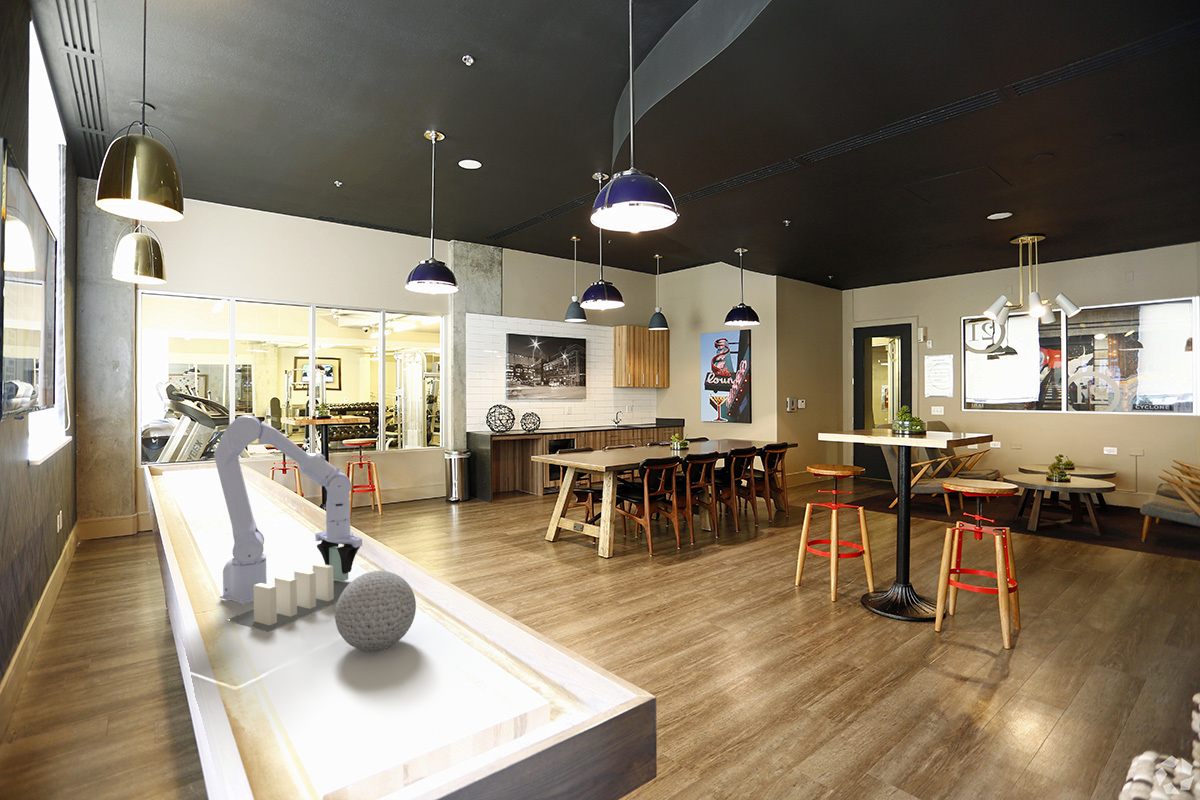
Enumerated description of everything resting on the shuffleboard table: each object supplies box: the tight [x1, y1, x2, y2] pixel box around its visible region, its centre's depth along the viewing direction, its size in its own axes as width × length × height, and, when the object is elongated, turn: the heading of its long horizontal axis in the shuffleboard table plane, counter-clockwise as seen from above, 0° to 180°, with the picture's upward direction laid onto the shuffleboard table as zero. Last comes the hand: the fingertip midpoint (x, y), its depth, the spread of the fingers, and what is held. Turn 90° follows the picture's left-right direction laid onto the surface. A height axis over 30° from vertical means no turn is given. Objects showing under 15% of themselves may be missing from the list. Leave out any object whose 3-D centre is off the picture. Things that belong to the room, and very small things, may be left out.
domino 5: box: [329, 546, 349, 581], centre depth 153 cm, size 2×5×8 cm, turn 66°
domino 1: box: [253, 583, 277, 625], centre depth 128 cm, size 2×5×8 cm, turn 66°
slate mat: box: [228, 579, 352, 633], centre depth 140 cm, size 14×29×1 cm, turn 156°
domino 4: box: [312, 562, 334, 601], centre depth 142 cm, size 2×5×8 cm, turn 66°
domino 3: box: [293, 568, 316, 609], centre depth 137 cm, size 2×5×8 cm, turn 66°
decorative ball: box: [334, 570, 417, 652], centre depth 118 cm, size 15×15×15 cm
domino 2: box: [274, 575, 297, 617], centre depth 133 cm, size 2×5×8 cm, turn 66°
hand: (338, 571), depth 153 cm, fingers closed on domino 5, 5 cm apart
